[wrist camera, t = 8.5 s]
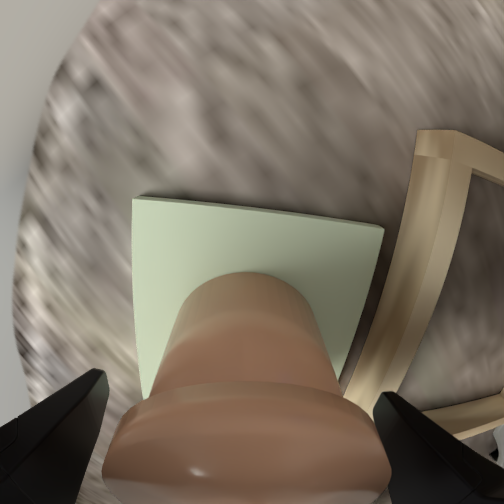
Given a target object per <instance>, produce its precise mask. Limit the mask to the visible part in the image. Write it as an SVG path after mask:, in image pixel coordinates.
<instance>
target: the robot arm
mask: <svg viewBox="0 0 504 504" xmlns="http://www.w3.org/2000/svg"><path fill="white" fill-rule="evenodd" d="M108 397H109V385H108V380H107V376H106V372H105V371H104V370H100V369H96V368H93V369H91V370H89V371H88V372H86V373H85V374H83V375H81V376H80V377H78V378H77V379H75V380H74V381H72V382H71V383H69V384H68V385H66V386H64V387H63V388H61V389H60V390H58V391H57V392H55V393H54V394H52V395H51V396H49V397H47V398H46V399H44V400H43V401H41V402H40V403H38V404H37V405H35V406H33V407H32V408H30V409H29V410H27V411H26V412H24V413H23V414H21V415H19V416H18V418H14V419H13V420H11V421H10V422H8V423H6V424H5V425H3V426H1V427H0V504H75V502H76V499H77V496H78V493H79V490H80V487H81V484H82V481H83V478H84V475H85V472H86V469H87V466H88V463H89V460H90V458H91V455H92V452H93V449H94V446H95V444H96V441H97V438H98V435H99V432H100V429H101V425H102V420H103V416H104V412H105V408H106V404H107V401H108ZM373 419H374V424H375V426H376V429H377V432H378V434H379V437H380V439H381V442H382V445H383V447H384V450H385V452H386V455H387V458H388V460H389V463H390V466H391V469H392V471H391V479H390V481H389V484H388V489H389V493H390V497H391V501H392V504H504V468H502V467H500V466H498V465H497V464H495V463H493V462H491V461H489V460H488V459H486V458H484V457H483V456H481V455H480V454H478V453H477V452H475V451H474V450H472V449H471V448H469V447H468V446H467V445H465V444H464V443H462V442H461V441H460V440H458V439H457V438H456V437H454V436H453V435H451V434H450V433H449V432H447V431H446V430H445V429H443V428H442V427H441V426H439V425H438V424H437V423H435V422H434V421H433V420H431V419H430V418H428V417H427V416H426V415H424V414H423V413H422V412H420V411H419V410H418V409H416V408H415V407H414V406H412V405H411V404H410V403H408V402H407V401H406V400H405V399H403V398H402V397H401V396H399V395H398V394H397V393H395V392H394V391H384V392H382V393H381V394H380V396H379V398H378V400H377V402H376V404H375V405H374V407H373Z"/></svg>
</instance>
